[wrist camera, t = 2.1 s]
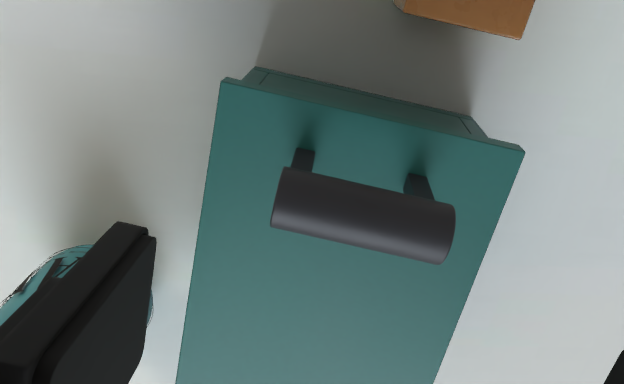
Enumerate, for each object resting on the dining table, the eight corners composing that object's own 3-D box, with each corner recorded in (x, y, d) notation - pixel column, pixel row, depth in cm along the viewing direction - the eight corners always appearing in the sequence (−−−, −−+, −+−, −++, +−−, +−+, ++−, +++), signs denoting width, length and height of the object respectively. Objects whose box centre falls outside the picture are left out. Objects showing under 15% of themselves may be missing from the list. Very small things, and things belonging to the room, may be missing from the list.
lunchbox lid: (225, 76, 19) (179, 116, 14) (519, 144, 19) (579, 208, 14) (178, 387, 24) (133, 494, 19) (404, 436, 25) (418, 556, 20)
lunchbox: (254, 65, 25) (222, 98, 19) (472, 116, 26) (510, 165, 19) (213, 300, 31) (178, 386, 24) (393, 340, 31) (404, 435, 25)
